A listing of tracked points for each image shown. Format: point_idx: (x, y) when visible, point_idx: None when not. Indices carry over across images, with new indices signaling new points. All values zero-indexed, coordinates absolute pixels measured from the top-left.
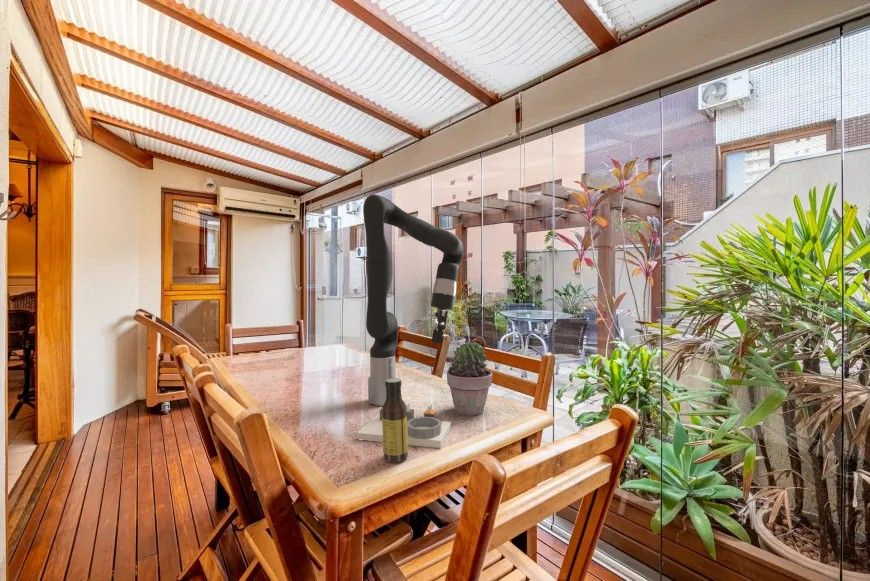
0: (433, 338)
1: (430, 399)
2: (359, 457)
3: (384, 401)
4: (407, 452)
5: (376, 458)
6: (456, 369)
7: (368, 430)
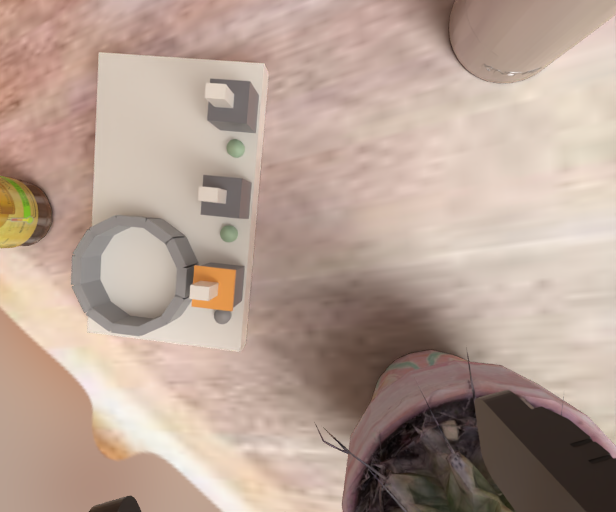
0: (516, 450)
1: (566, 234)
2: (12, 112)
3: (457, 38)
4: (19, 245)
5: (15, 161)
6: (443, 465)
7: (124, 83)
